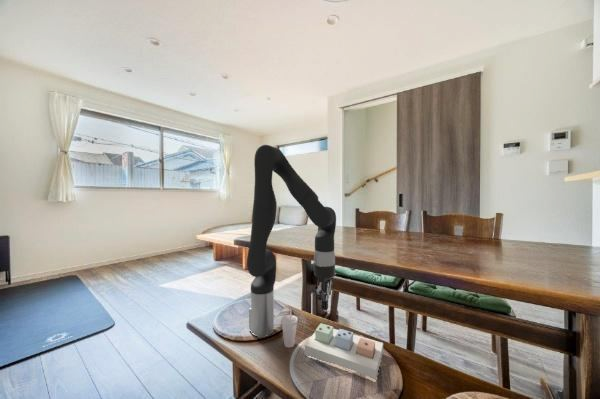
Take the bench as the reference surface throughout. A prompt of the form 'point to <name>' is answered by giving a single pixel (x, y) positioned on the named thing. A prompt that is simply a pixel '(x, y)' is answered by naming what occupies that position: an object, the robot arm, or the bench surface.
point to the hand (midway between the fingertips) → (324, 309)
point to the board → (346, 355)
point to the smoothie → (289, 329)
